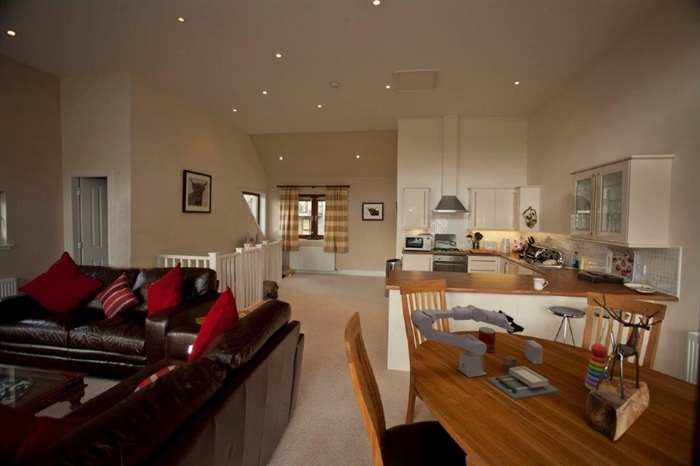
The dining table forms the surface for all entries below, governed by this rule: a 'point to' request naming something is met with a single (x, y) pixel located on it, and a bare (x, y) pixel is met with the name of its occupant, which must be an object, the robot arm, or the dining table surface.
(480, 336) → the canned food
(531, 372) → the cream tray
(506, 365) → the walnut block
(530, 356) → the medicine box
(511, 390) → the track
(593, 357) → the stacking toy
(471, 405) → the dining table surface
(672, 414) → the dining table surface
